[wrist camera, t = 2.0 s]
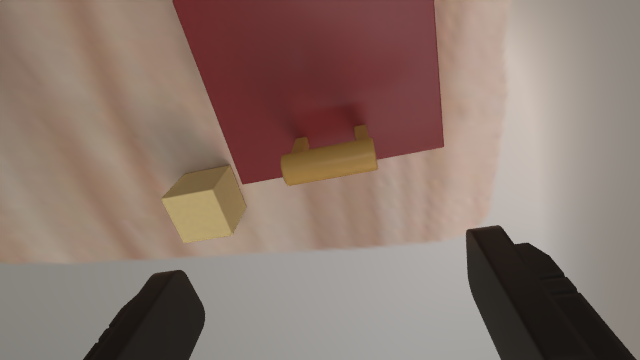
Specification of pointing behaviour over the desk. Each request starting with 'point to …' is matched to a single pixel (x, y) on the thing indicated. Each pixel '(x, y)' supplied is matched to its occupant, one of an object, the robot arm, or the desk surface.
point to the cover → (317, 82)
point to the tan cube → (205, 204)
